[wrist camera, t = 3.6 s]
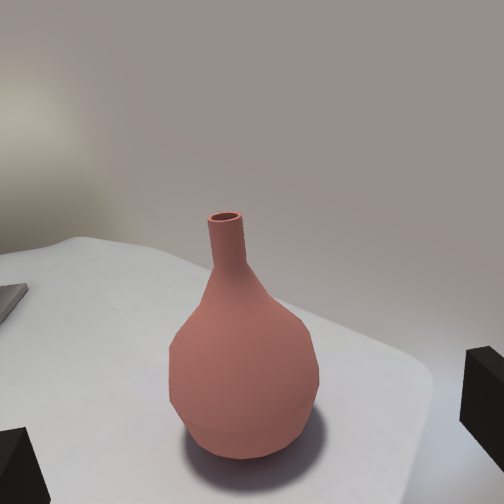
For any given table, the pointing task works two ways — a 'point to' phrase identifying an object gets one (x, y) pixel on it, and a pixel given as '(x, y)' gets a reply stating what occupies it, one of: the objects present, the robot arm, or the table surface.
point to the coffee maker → (10, 298)
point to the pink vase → (241, 359)
